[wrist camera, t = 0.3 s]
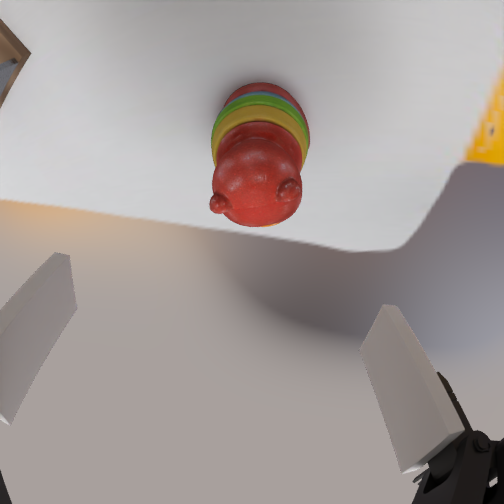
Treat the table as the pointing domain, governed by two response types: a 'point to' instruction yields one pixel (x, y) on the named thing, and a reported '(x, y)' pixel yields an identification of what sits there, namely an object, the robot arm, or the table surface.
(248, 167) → the stacking bear
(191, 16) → the table surface
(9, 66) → the bookend
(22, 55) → the shelf plank
